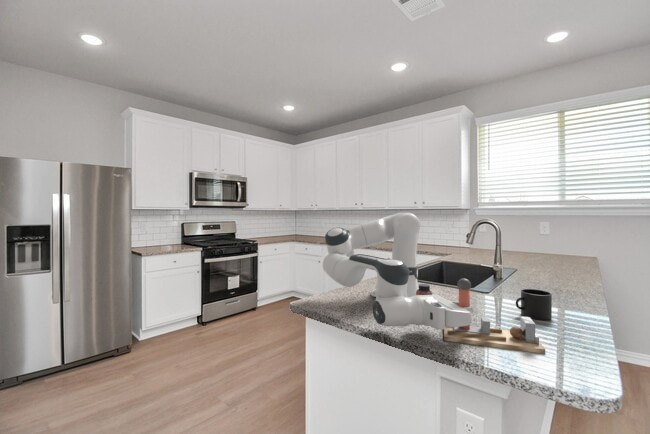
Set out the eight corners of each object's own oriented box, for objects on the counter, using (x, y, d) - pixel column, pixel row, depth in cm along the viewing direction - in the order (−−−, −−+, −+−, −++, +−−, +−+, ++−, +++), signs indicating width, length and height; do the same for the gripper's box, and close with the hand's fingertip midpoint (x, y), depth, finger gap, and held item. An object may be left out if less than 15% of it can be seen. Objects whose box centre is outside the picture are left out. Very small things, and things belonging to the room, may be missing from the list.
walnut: (511, 339, 91) (511, 328, 91) (508, 335, 94) (508, 324, 94) (524, 341, 90) (524, 329, 90) (521, 336, 93) (521, 325, 93)
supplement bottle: (430, 317, 113) (430, 287, 113) (414, 315, 117) (414, 285, 116) (433, 313, 118) (433, 284, 118) (418, 310, 122) (418, 282, 121)
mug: (508, 311, 119) (508, 288, 119) (540, 312, 119) (541, 289, 118) (523, 320, 110) (523, 295, 110) (557, 320, 109) (558, 295, 109)
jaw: (525, 342, 88) (525, 323, 88) (520, 335, 94) (520, 316, 94) (539, 344, 87) (539, 324, 87) (533, 336, 93) (533, 317, 93)
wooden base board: (444, 340, 94) (444, 333, 94) (443, 326, 105) (443, 320, 105) (545, 353, 84) (545, 345, 84) (533, 336, 95) (533, 329, 95)
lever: (454, 332, 96) (454, 279, 95) (453, 327, 100) (453, 276, 100) (490, 337, 92) (490, 281, 92) (487, 331, 97) (487, 278, 97)
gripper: (411, 309, 105) (449, 307, 107) (442, 332, 85) (488, 329, 87) (411, 291, 105) (448, 289, 107) (442, 309, 85) (488, 307, 87)
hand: (466, 307), depth 97 cm, fingers closed on lever, 3 cm apart
